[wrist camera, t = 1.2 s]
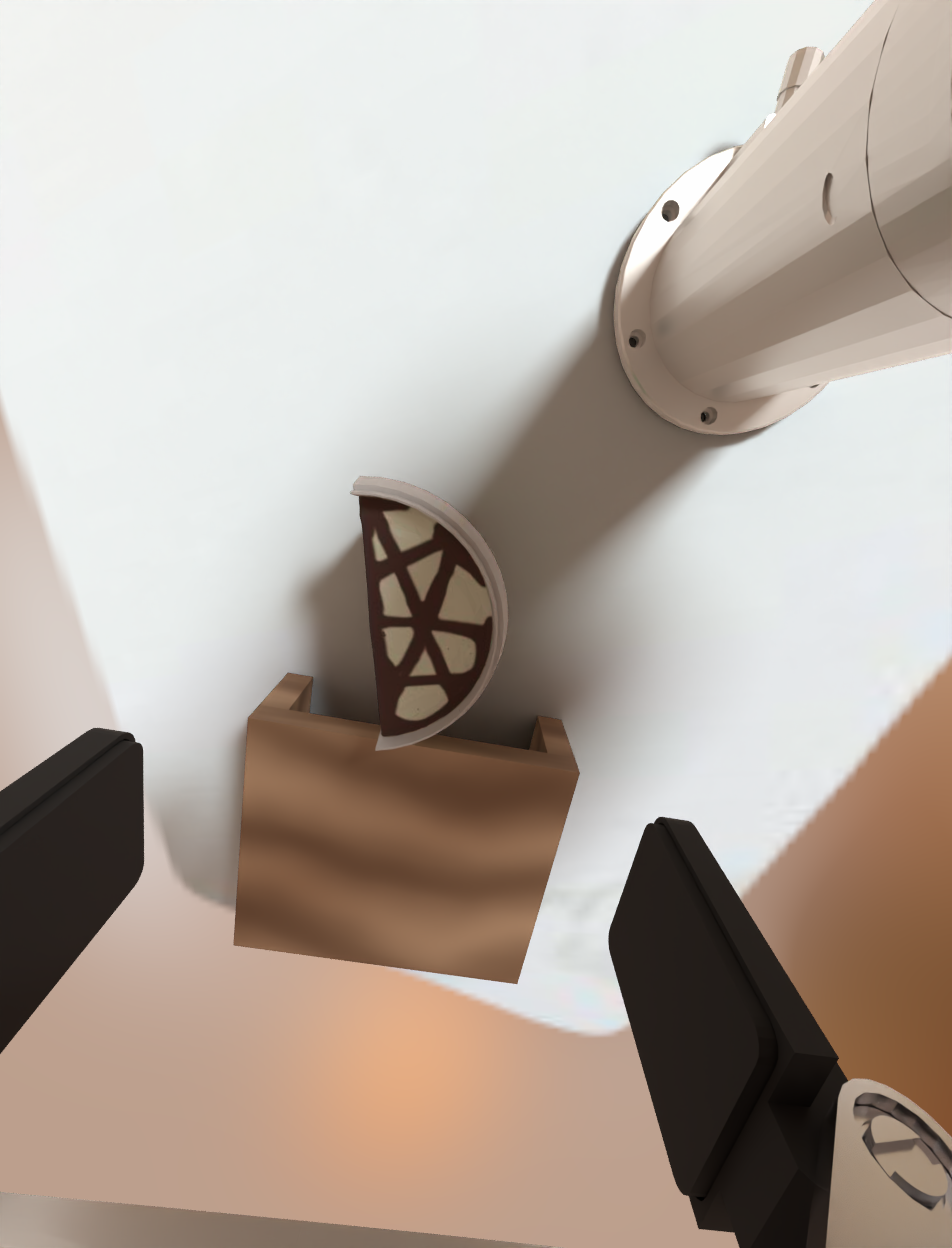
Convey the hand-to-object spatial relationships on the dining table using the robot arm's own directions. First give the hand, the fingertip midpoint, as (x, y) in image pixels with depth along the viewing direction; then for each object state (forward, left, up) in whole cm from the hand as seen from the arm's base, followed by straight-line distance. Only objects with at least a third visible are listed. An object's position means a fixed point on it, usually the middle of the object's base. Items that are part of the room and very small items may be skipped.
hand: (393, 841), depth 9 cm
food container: (0, 0, -22) cm, 22 cm away
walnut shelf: (+16, 0, -22) cm, 27 cm away
